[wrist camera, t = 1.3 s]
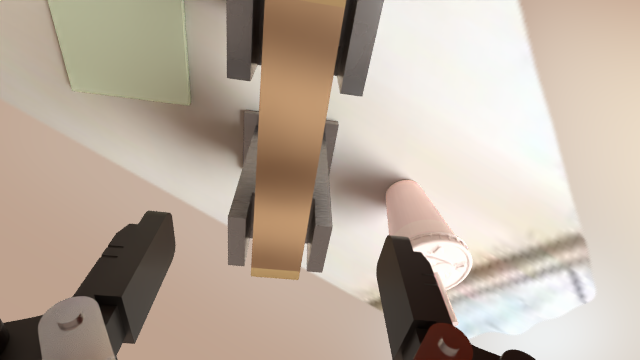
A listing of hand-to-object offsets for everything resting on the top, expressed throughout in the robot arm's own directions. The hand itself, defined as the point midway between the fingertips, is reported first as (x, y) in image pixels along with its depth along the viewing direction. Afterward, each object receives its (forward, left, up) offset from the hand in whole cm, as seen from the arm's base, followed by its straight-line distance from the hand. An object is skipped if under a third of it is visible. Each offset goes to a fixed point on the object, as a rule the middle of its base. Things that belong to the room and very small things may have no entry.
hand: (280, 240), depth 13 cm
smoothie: (+10, +12, -18) cm, 24 cm away
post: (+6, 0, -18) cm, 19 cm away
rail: (0, 0, -8) cm, 8 cm away
